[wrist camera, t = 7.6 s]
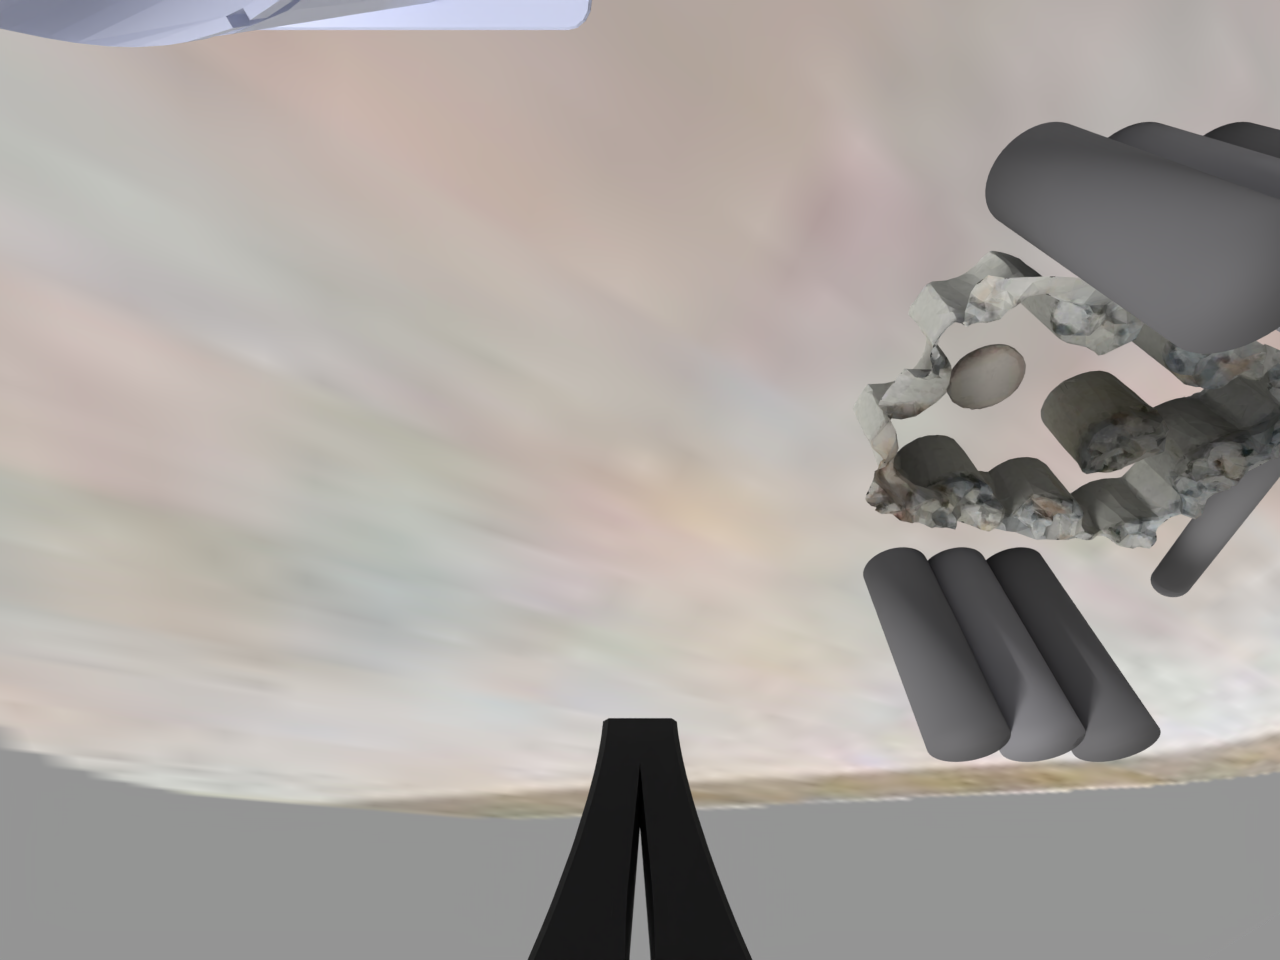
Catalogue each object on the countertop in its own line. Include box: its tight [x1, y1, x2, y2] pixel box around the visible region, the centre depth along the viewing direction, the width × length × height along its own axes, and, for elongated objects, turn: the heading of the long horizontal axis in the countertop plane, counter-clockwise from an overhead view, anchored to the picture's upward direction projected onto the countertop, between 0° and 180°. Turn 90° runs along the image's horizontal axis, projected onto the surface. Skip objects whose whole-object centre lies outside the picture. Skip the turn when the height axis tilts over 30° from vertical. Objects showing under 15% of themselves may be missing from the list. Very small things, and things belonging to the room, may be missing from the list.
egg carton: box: [853, 251, 1280, 549], centre depth 18 cm, size 11×8×4 cm
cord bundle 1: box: [863, 547, 1161, 762], centre depth 22 cm, size 2×7×7 cm, turn 90°
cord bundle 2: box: [985, 122, 1280, 354], centre depth 13 cm, size 2×7×7 cm, turn 90°
